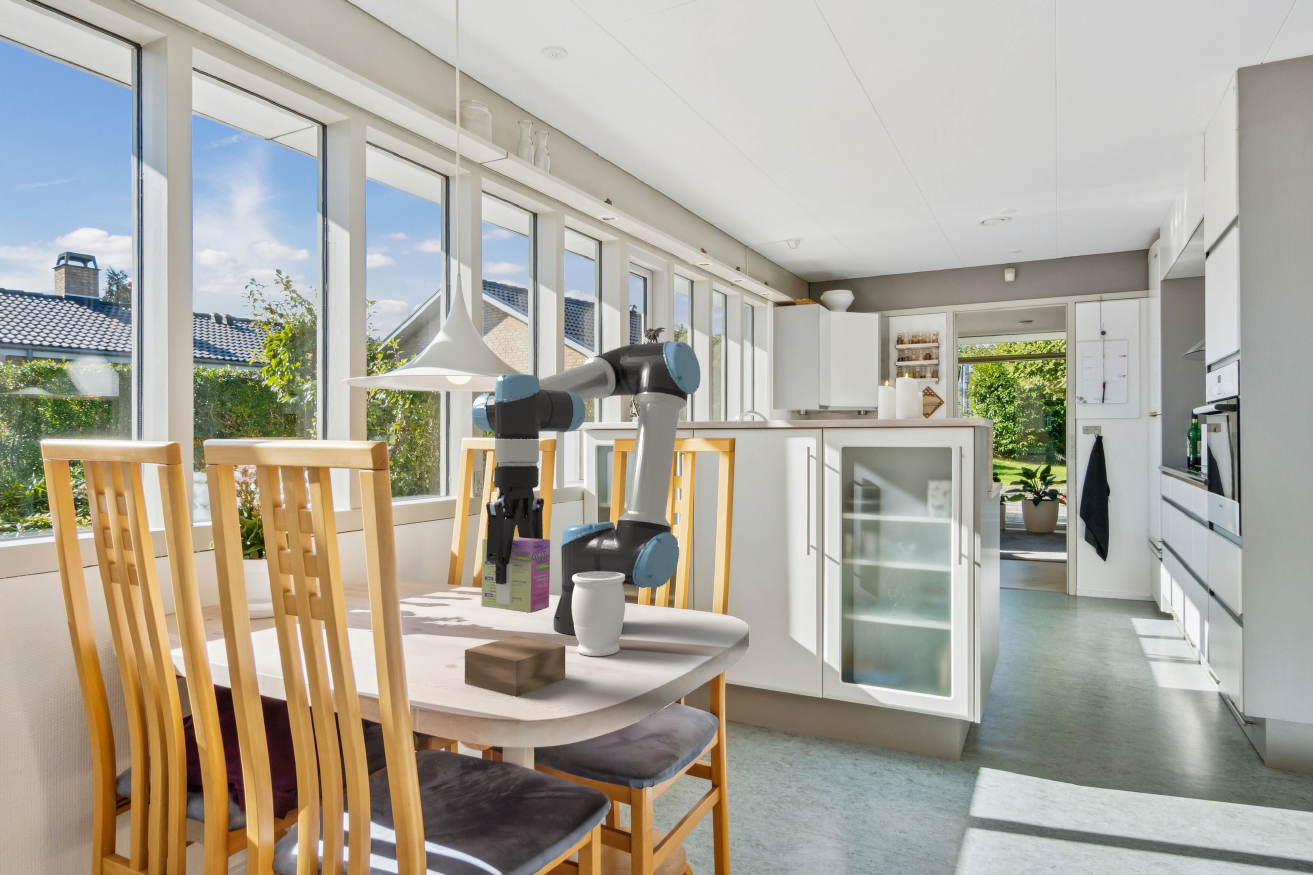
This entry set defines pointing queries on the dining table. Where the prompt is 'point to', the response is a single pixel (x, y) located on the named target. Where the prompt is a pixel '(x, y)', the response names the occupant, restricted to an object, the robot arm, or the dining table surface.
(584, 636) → the jar
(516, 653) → the base block
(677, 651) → the dining table surface
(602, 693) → the dining table surface
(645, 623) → the dining table surface
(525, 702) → the dining table surface
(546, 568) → the box
